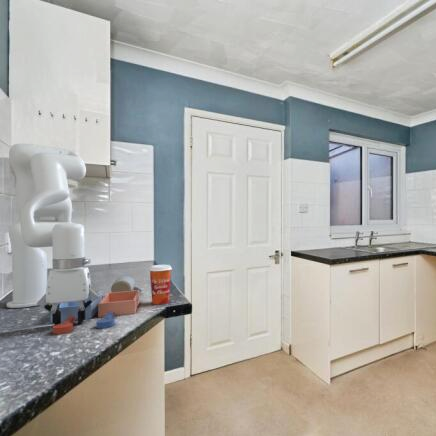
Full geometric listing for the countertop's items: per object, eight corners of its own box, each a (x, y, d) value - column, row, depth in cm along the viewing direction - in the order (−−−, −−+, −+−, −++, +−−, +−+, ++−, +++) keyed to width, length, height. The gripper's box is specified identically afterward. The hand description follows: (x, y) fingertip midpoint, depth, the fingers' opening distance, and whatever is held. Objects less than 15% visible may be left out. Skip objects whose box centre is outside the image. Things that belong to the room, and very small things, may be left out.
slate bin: (66, 309, 110) (66, 296, 110) (101, 305, 115) (101, 293, 115) (50, 323, 96) (50, 308, 96) (91, 318, 100) (91, 304, 100)
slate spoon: (102, 318, 101) (102, 312, 101) (118, 316, 103) (118, 310, 103) (94, 329, 91) (94, 323, 91) (113, 327, 92) (112, 321, 92)
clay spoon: (63, 322, 96) (63, 317, 96) (81, 320, 98) (80, 315, 98) (50, 335, 86) (50, 328, 86) (70, 332, 88) (70, 326, 88)
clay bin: (107, 304, 116) (107, 292, 116) (139, 301, 120) (139, 289, 120) (98, 317, 101) (98, 303, 101) (135, 313, 106) (135, 300, 106)
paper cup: (148, 306, 114) (148, 268, 114) (149, 301, 121) (149, 265, 120) (172, 303, 117) (172, 266, 117) (172, 298, 124) (172, 263, 124)
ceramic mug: (109, 299, 123) (110, 279, 123) (114, 294, 131) (114, 276, 131) (140, 297, 128) (141, 278, 128) (143, 292, 135) (143, 274, 135)
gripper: (105, 260, 101) (105, 316, 102) (37, 264, 94) (37, 324, 94) (100, 264, 95) (100, 323, 95) (26, 268, 87) (26, 333, 87)
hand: (69, 323), depth 94 cm, fingers open, 4 cm apart
